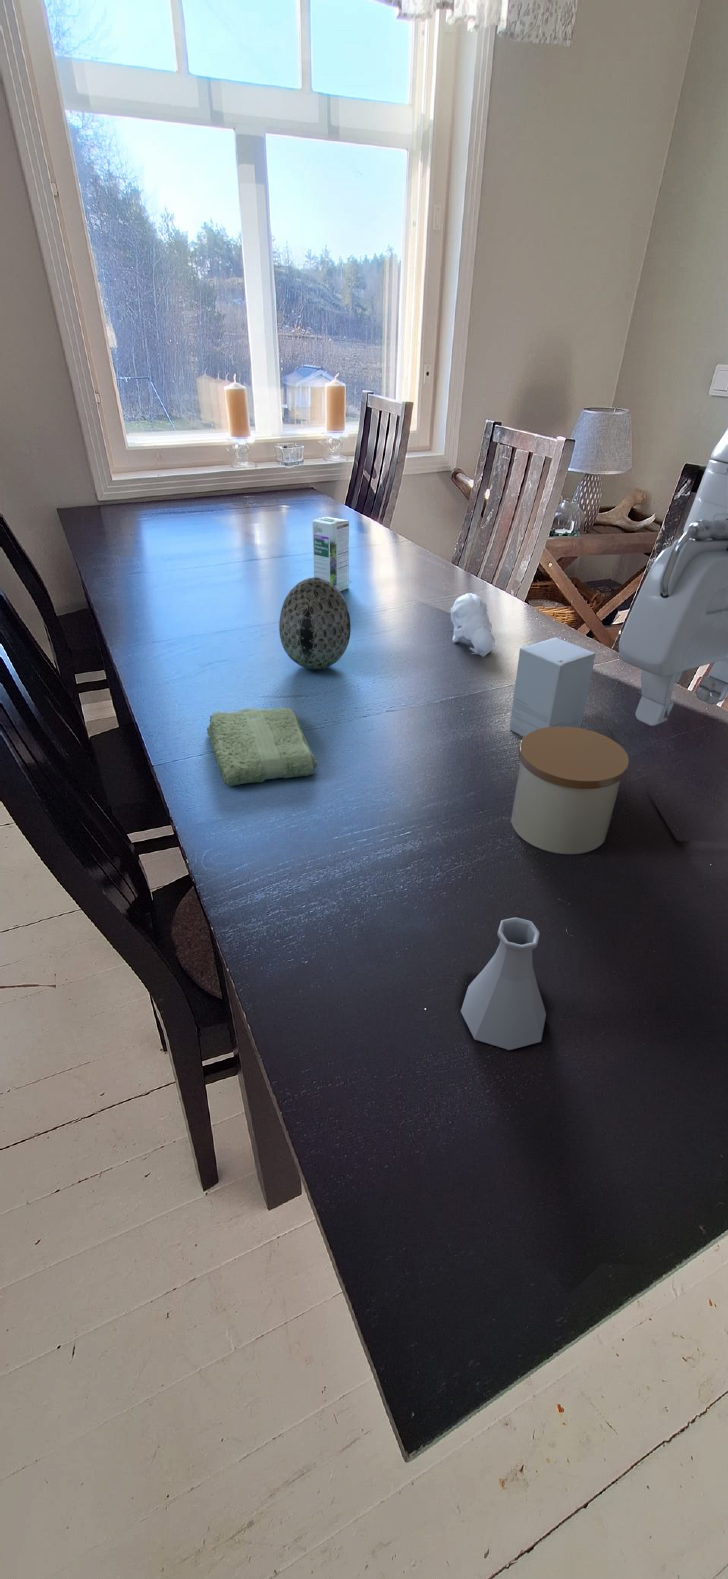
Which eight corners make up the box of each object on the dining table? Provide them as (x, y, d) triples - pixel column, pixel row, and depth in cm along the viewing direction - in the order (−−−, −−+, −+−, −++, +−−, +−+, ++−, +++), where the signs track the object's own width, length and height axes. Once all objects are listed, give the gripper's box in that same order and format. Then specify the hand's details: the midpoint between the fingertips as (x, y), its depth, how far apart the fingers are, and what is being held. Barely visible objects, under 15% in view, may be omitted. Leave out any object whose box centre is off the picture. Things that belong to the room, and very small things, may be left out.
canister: (593, 796, 86) (610, 726, 81) (622, 856, 77) (644, 781, 71) (500, 796, 86) (511, 725, 80) (518, 855, 77) (531, 780, 71)
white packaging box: (581, 736, 99) (598, 653, 92) (544, 750, 95) (560, 665, 88) (542, 715, 104) (556, 635, 97) (506, 728, 100) (518, 646, 93)
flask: (457, 980, 62) (467, 897, 56) (537, 982, 62) (556, 900, 56) (464, 1050, 56) (476, 966, 50) (553, 1053, 56) (576, 969, 50)
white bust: (483, 588, 125) (510, 617, 116) (476, 631, 131) (502, 662, 122) (450, 590, 124) (475, 620, 115) (445, 634, 129) (468, 665, 121)
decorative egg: (293, 650, 123) (288, 565, 115) (357, 656, 121) (357, 570, 113) (272, 677, 114) (266, 587, 105) (341, 684, 112) (341, 593, 103)
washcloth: (294, 716, 103) (293, 696, 101) (321, 779, 89) (320, 757, 87) (205, 727, 100) (202, 707, 98) (218, 794, 86) (215, 772, 84)
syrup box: (313, 589, 151) (310, 520, 143) (329, 583, 155) (328, 514, 147) (333, 595, 148) (333, 524, 140) (350, 587, 152) (350, 518, 144)
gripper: (740, 533, 37) (648, 757, 44) (861, 531, 50) (774, 705, 57) (638, 506, 41) (568, 716, 48) (773, 510, 54) (702, 676, 61)
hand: (680, 710), depth 53 cm, fingers open, 8 cm apart
